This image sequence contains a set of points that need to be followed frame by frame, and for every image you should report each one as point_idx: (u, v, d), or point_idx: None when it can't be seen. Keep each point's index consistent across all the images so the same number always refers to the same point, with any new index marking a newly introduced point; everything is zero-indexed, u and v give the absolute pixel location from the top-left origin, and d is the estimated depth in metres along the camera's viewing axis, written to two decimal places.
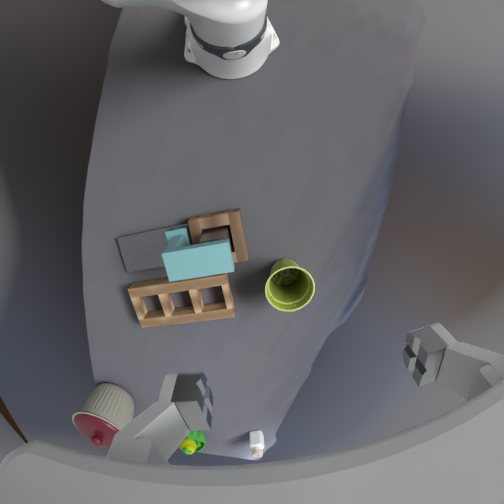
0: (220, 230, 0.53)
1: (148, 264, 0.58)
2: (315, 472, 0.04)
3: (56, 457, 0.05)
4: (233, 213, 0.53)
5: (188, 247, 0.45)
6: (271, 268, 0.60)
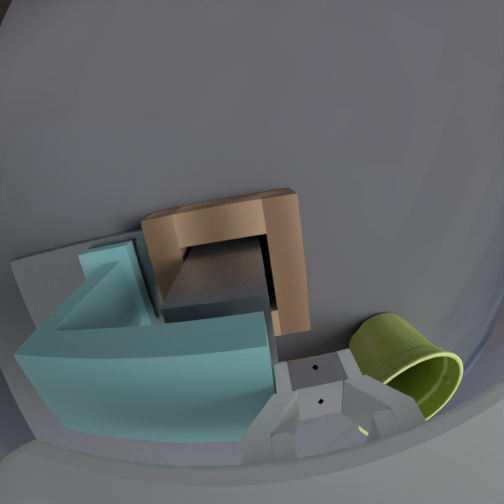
0: (239, 253, 0.17)
1: None
2: (315, 472, 0.04)
3: (56, 457, 0.05)
4: (279, 201, 0.17)
5: (91, 344, 0.09)
6: (354, 337, 0.23)
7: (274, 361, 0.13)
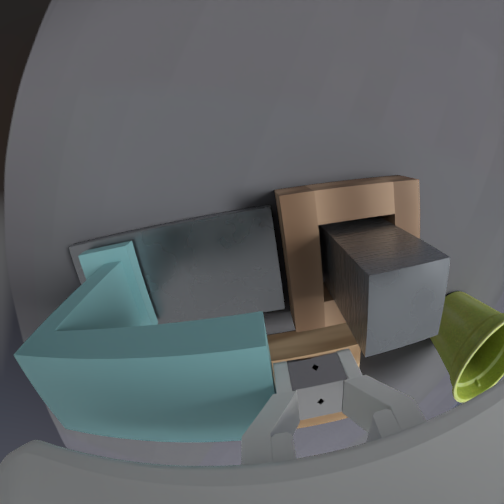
0: (382, 229, 0.16)
1: None
2: (315, 472, 0.04)
3: (56, 457, 0.05)
4: (406, 185, 0.17)
5: (91, 344, 0.09)
6: None
7: (438, 320, 0.12)
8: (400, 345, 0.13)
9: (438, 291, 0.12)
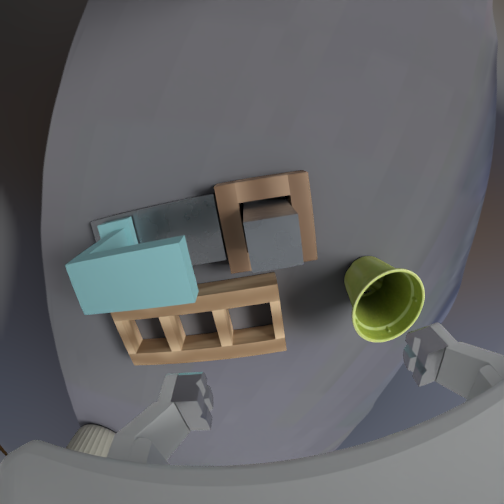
0: (276, 204, 0.29)
1: None
2: (315, 472, 0.04)
3: (56, 457, 0.05)
4: (297, 176, 0.29)
5: (108, 253, 0.21)
6: (347, 272, 0.35)
7: (300, 254, 0.25)
8: (276, 268, 0.25)
9: (294, 234, 0.24)
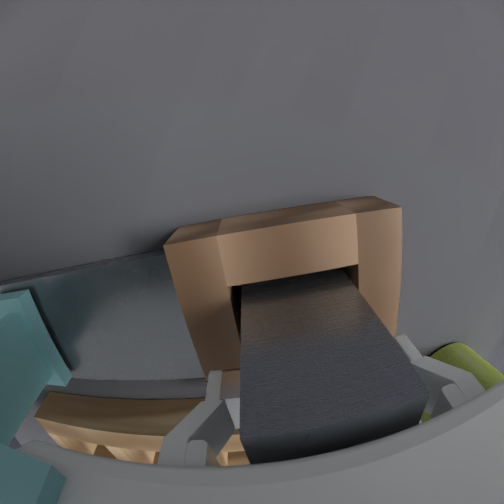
0: (328, 298, 0.10)
1: None
2: (315, 472, 0.04)
3: (56, 457, 0.05)
4: (379, 217, 0.11)
5: None
6: None
7: None
8: None
9: None
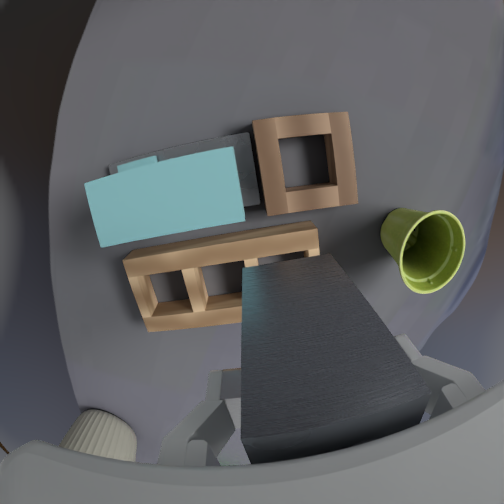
0: (329, 298, 0.10)
1: None
2: (315, 472, 0.04)
3: (56, 457, 0.05)
4: (338, 115, 0.26)
5: None
6: (384, 223, 0.32)
7: None
8: None
9: None
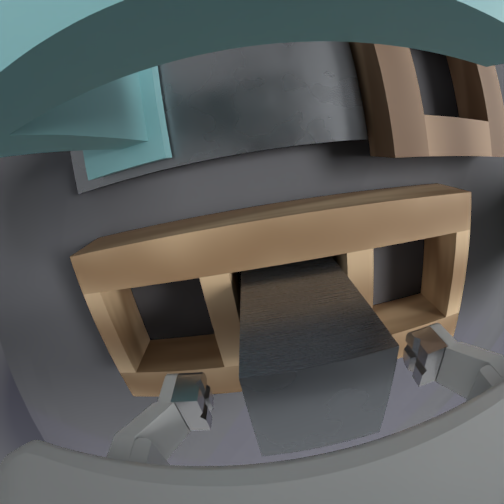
0: (316, 276, 0.12)
1: None
2: (315, 472, 0.04)
3: (56, 457, 0.05)
4: None
5: None
6: None
7: (378, 419, 0.08)
8: (317, 444, 0.09)
9: (376, 390, 0.08)
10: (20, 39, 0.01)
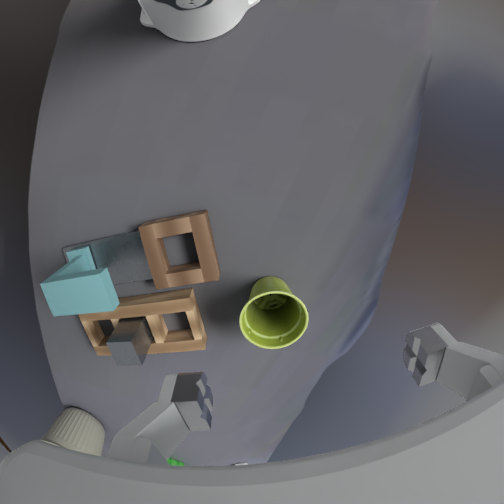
0: (135, 322, 0.42)
1: None
2: (315, 472, 0.04)
3: (56, 457, 0.05)
4: (196, 217, 0.39)
5: (64, 277, 0.31)
6: None
7: (138, 360, 0.38)
8: (128, 364, 0.39)
9: (132, 351, 0.38)
10: (71, 313, 0.32)
